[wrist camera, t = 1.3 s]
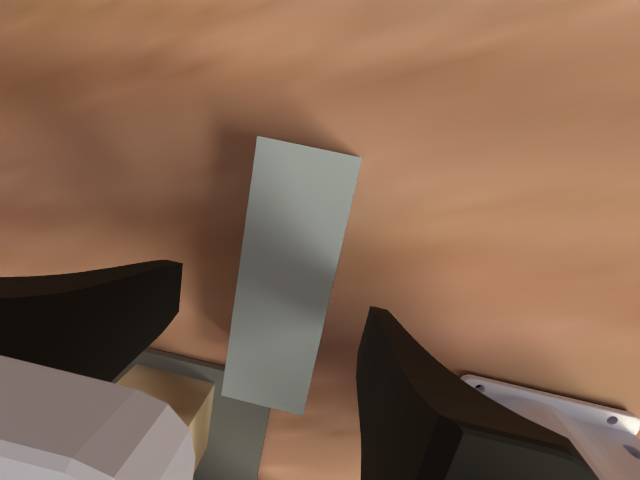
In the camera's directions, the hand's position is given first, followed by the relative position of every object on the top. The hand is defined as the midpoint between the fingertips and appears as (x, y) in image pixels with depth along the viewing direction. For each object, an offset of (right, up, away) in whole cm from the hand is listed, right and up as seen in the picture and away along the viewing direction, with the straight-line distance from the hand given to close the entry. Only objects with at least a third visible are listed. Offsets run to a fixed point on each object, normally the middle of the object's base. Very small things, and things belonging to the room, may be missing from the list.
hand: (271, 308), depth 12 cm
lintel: (+1, +1, +5) cm, 6 cm away
